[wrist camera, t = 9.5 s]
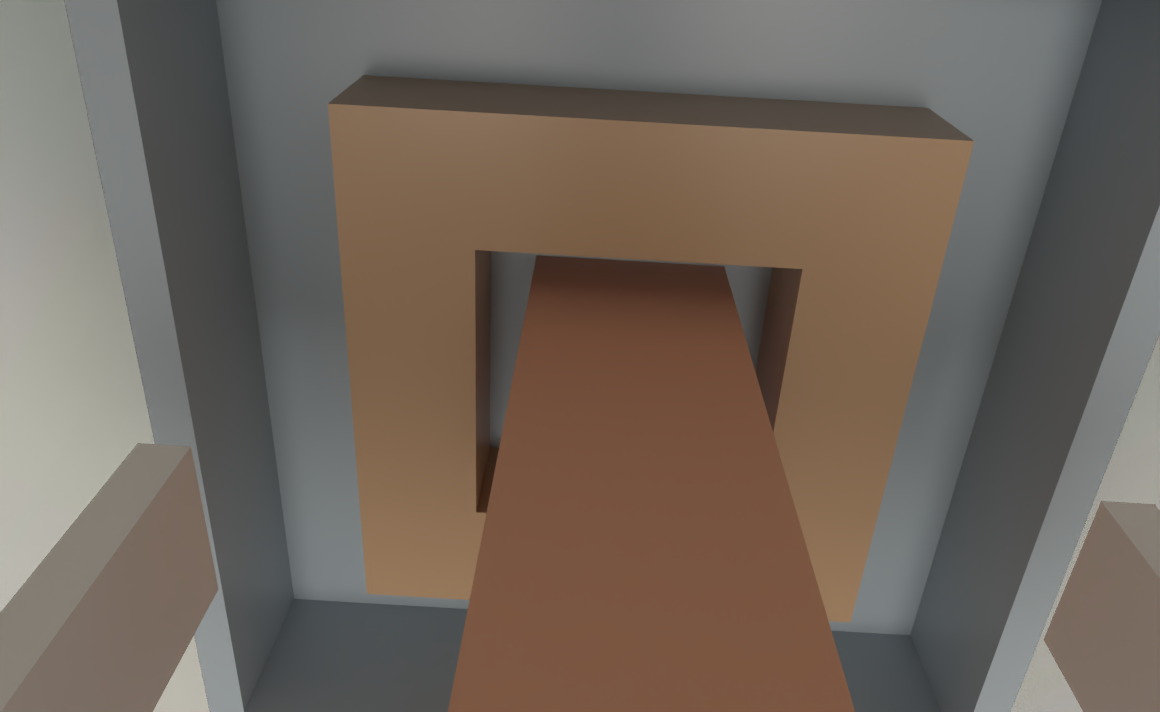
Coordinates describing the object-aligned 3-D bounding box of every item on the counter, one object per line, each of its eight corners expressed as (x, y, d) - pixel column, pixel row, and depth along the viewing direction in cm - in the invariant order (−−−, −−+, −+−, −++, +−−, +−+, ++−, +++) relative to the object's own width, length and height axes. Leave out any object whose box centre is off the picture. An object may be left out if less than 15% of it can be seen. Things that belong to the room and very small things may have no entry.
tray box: (172, -140, 17) (34, -145, 13) (1149, -84, 17) (1319, -71, 13) (277, 598, 25) (214, 734, 21) (924, 637, 25) (983, 780, 21)
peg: (536, 255, 19) (445, 722, 9) (724, 266, 19) (865, 745, 9) (532, 415, 21) (452, 959, 10) (702, 425, 21) (796, 980, 10)
